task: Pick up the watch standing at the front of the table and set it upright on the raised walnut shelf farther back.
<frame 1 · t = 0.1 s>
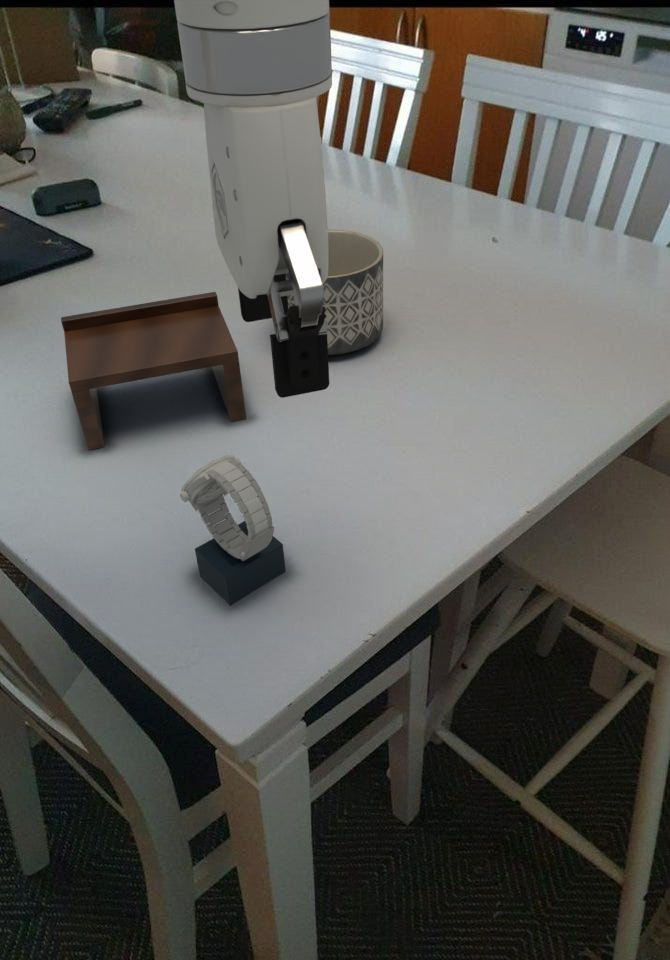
hand: (282, 351, 52), 21 cm above the table, tool pointing down, fingers open, 9 cm apart
planter: (329, 337, 96), on the table
shelf: (161, 405, 86), on the table
watch: (241, 575, 66), on the table
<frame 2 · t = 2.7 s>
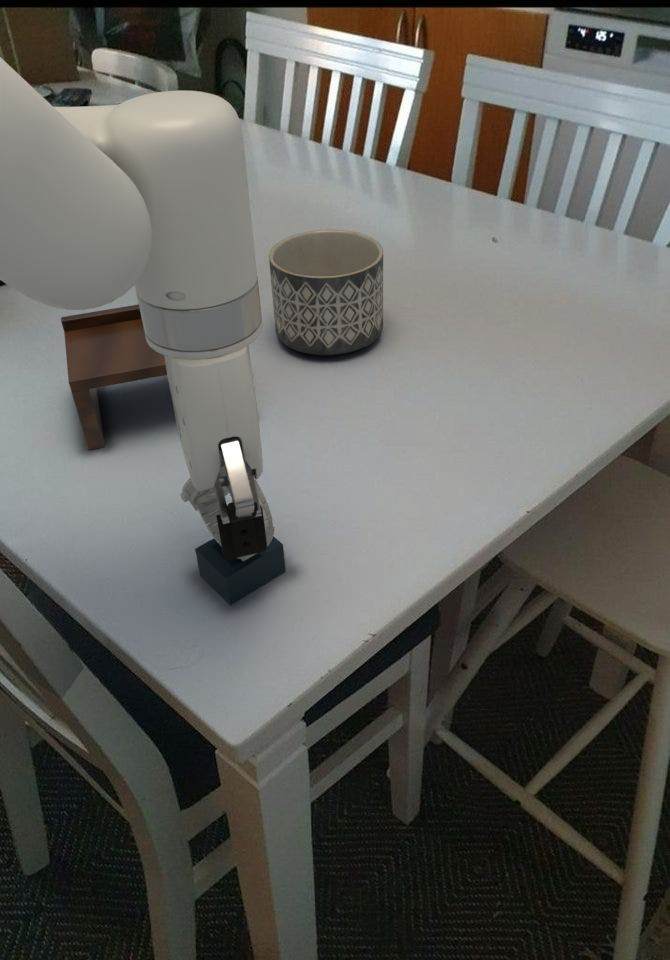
hand: (233, 513, 62), 7 cm above the table, tool pointing down, fingers closed on watch, 8 cm apart
watch: (242, 575, 66), on the table, touching gripper
everything else where it was.
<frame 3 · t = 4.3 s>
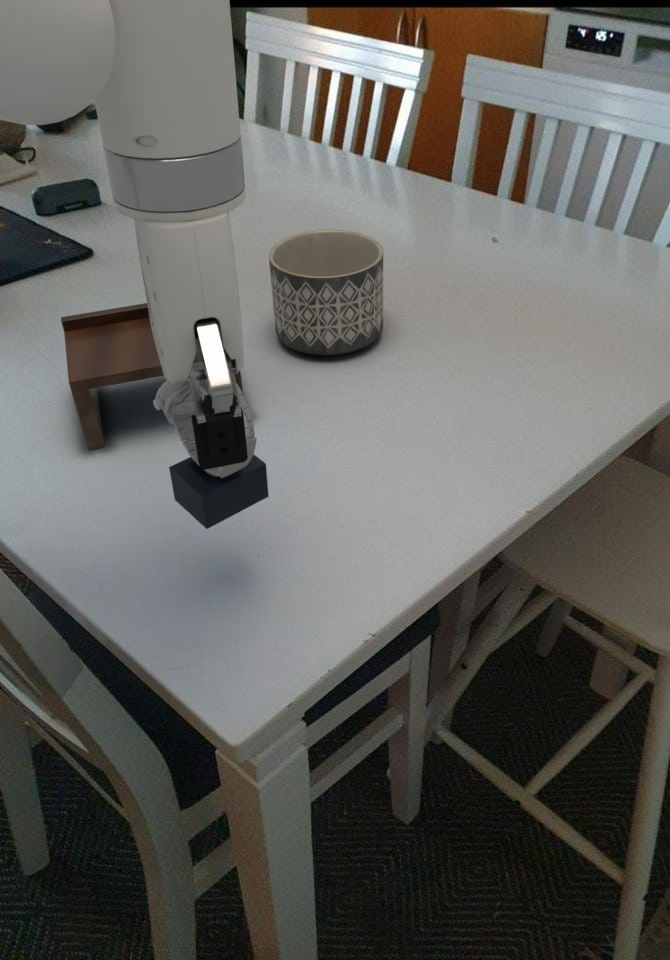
hand: (211, 425, 56), 15 cm above the table, tool pointing down, fingers closed on watch, 8 cm apart
watch: (220, 499, 61), point 8 cm above the table, touching gripper
everything else where it was.
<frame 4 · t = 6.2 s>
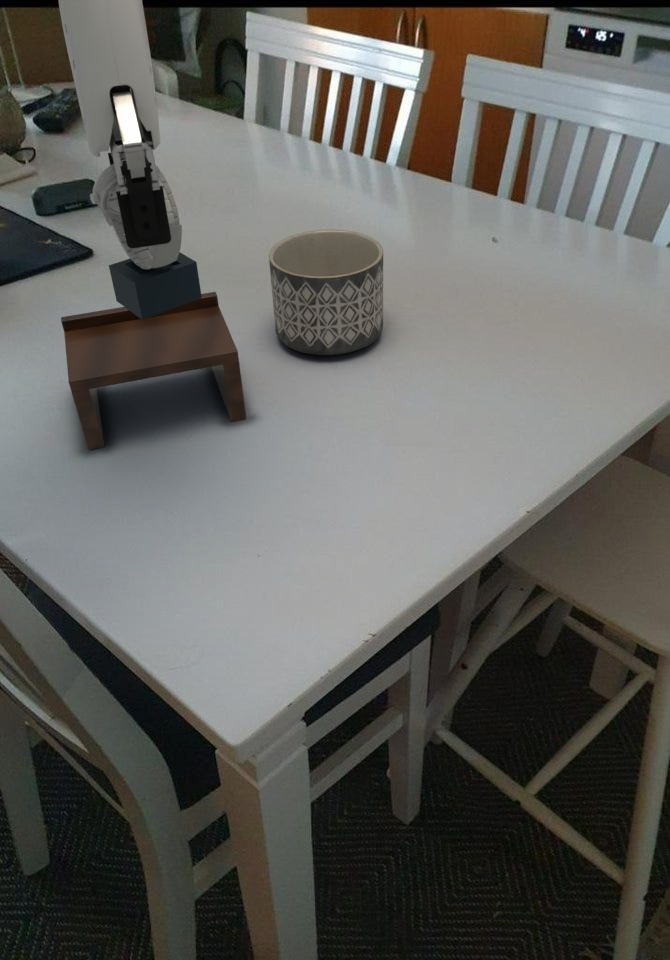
hand: (143, 221, 62), 24 cm above the table, tool pointing down, fingers closed on watch, 8 cm apart
watch: (158, 301, 67), point 17 cm above the table, touching gripper
everything else where it was.
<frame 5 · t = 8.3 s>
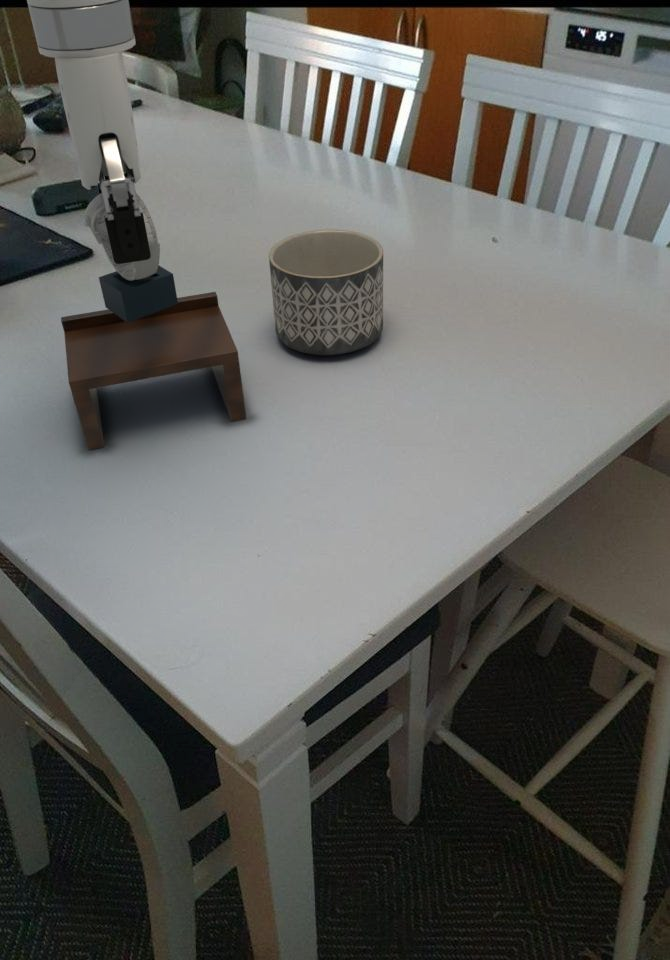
hand: (127, 240, 74), 18 cm above the table, tool pointing down, fingers closed on watch, 8 cm apart
watch: (141, 307, 78), point 12 cm above the table, touching gripper
everything else where it was.
when the fingers open (15 cm above the table, at t = 9.9 s): watch stays where it is, resting on shelf.
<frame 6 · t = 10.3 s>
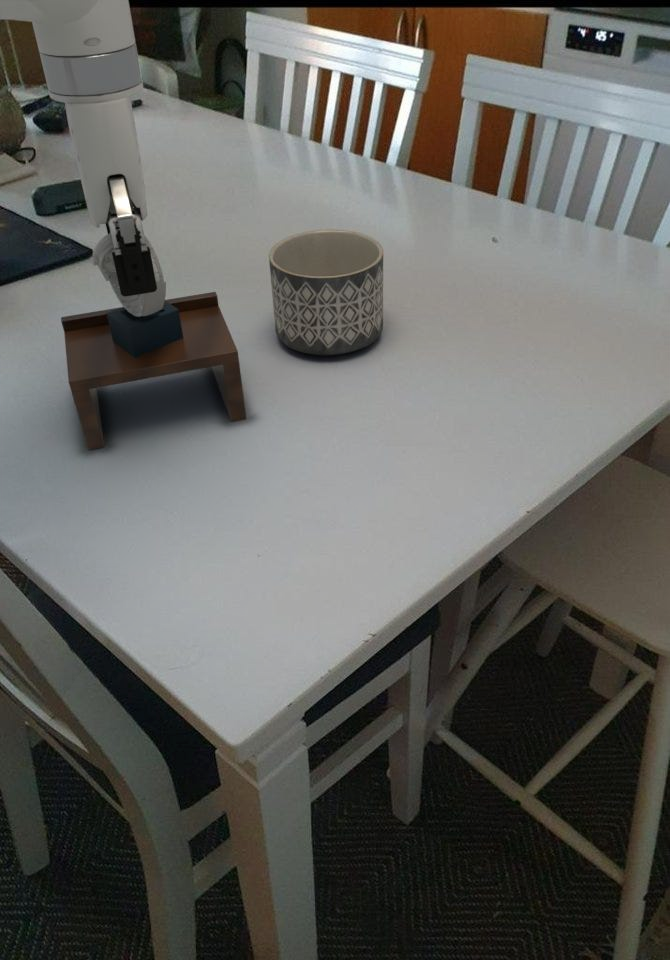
hand: (133, 270, 76), 15 cm above the table, tool pointing down, fingers open, 9 cm apart
watch: (147, 341, 81), point 8 cm above the table, touching shelf
everything else where it was.
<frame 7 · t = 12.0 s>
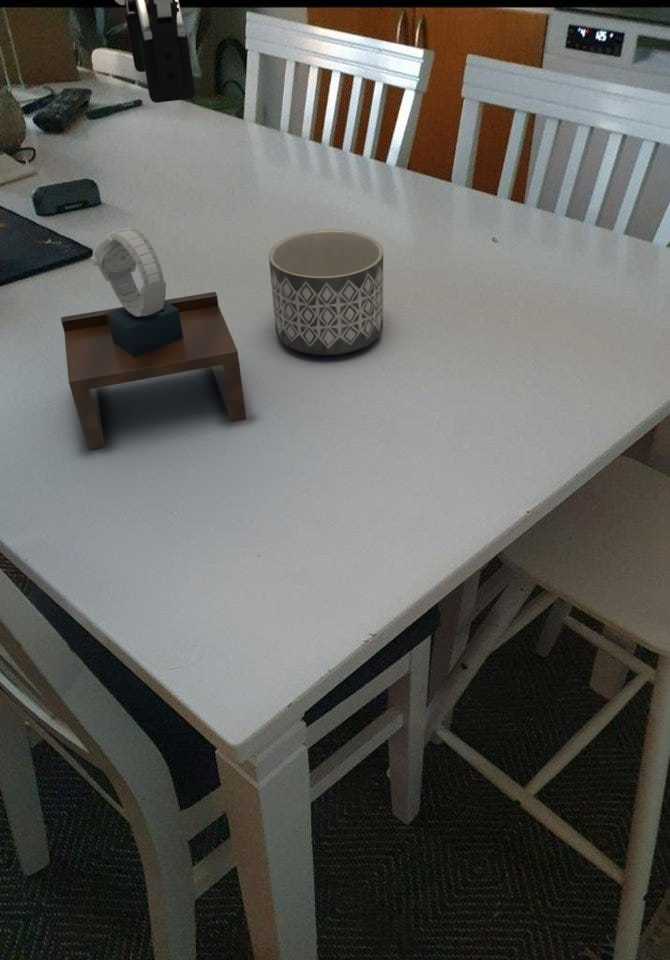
hand: (163, 83, 62), 32 cm above the table, tool pointing down, fingers open, 9 cm apart
nothing on the table moved.
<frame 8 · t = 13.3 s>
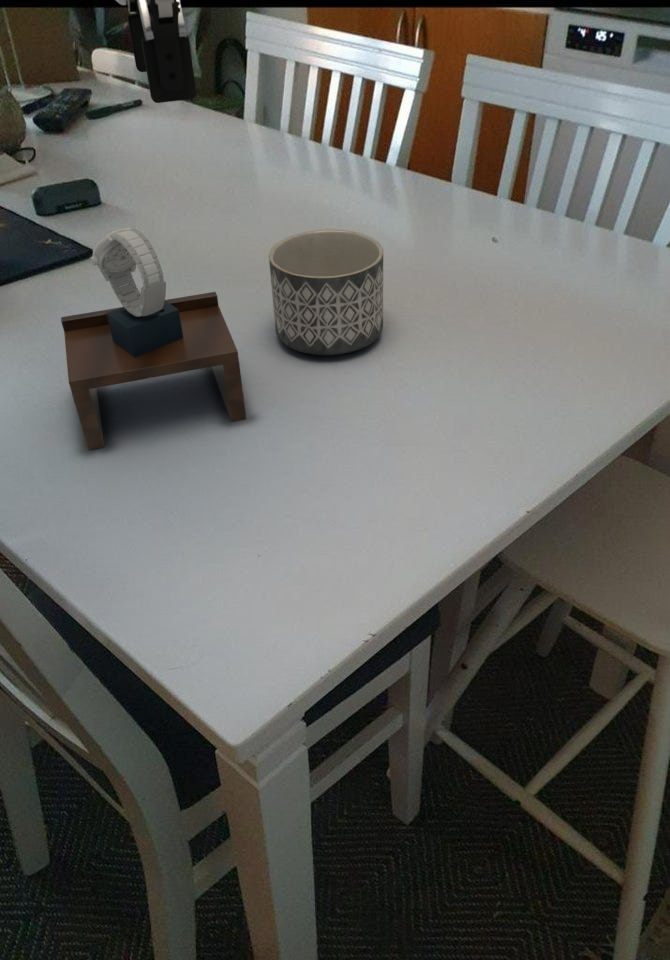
hand: (165, 83, 62), 32 cm above the table, tool pointing down, fingers open, 9 cm apart
nothing on the table moved.
at the end: watch inside the target area on the shelf (0.1 cm from its centre), point 7.8 cm above the shelf's base; watch tilted 0°; the gripper is holding nothing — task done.
